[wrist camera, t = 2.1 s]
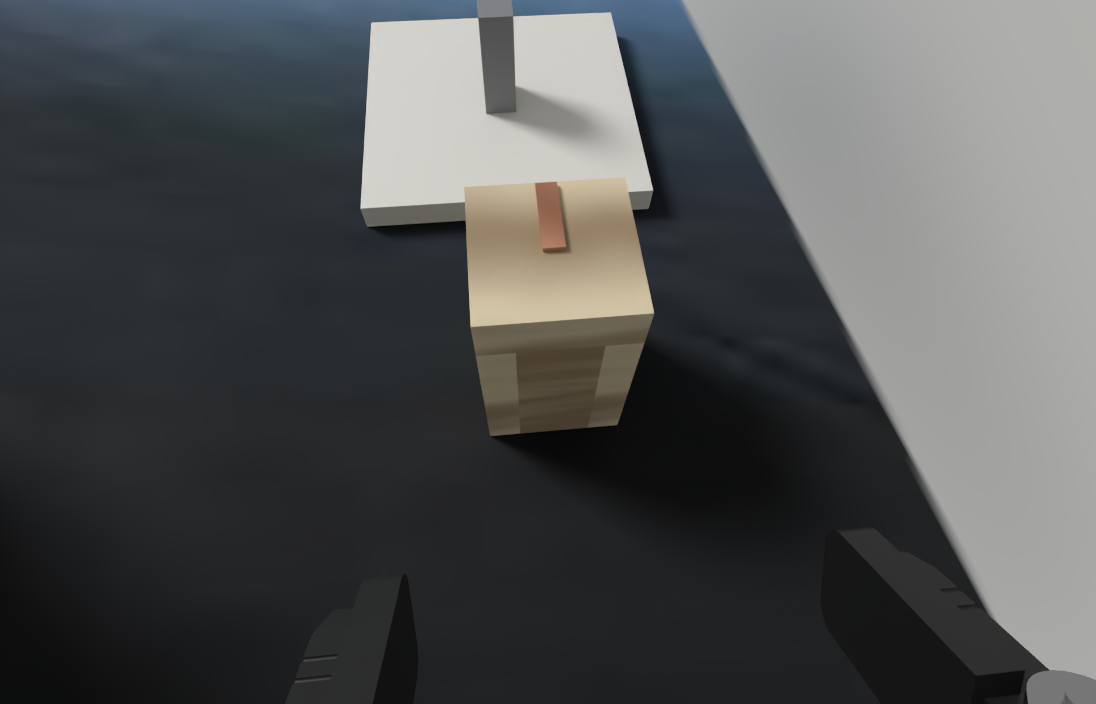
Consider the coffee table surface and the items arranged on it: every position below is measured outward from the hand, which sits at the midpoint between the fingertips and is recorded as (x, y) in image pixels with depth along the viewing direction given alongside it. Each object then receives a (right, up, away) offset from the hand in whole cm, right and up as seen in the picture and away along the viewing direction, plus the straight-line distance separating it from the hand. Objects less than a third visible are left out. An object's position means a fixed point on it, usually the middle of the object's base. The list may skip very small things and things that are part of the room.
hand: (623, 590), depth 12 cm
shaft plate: (-4, +19, +27) cm, 33 cm away
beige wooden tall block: (-1, +3, +18) cm, 19 cm away
